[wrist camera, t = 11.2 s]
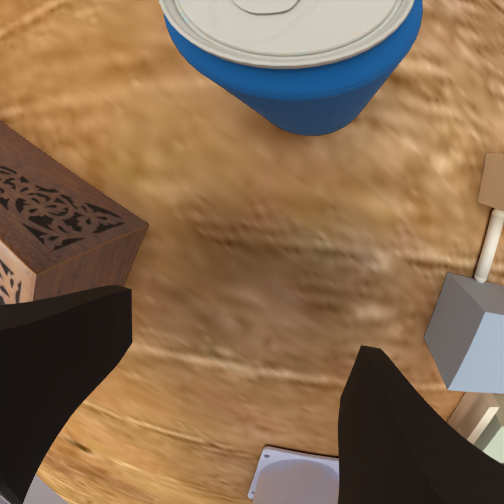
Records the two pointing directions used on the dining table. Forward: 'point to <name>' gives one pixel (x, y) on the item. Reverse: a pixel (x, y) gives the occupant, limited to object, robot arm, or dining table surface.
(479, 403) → the rack
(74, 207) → the tissue box cover
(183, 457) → the dining table surface
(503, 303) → the corded block
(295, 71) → the beverage can
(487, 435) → the plain block
